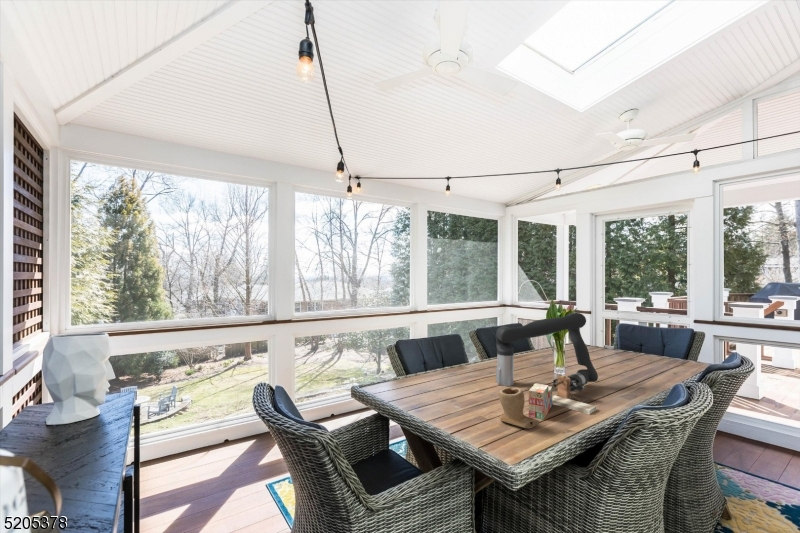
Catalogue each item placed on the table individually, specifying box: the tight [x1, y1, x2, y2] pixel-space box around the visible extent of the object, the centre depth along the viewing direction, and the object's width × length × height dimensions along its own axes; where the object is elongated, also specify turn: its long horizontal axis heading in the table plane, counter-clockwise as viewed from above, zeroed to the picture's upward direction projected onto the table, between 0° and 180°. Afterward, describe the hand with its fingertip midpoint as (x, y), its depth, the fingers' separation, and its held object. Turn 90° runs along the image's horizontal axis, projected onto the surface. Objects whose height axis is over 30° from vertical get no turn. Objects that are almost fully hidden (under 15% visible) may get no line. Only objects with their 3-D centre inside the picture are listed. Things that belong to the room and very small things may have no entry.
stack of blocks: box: [528, 383, 553, 421], centre depth 170 cm, size 21×6×12 cm, turn 147°
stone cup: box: [498, 386, 540, 430], centre depth 154 cm, size 15×12×15 cm
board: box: [552, 394, 597, 415], centre depth 176 cm, size 20×8×2 cm, turn 42°
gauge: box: [555, 375, 571, 400], centre depth 184 cm, size 11×4×12 cm, turn 132°
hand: (562, 387), depth 185 cm, fingers open, 8 cm apart
